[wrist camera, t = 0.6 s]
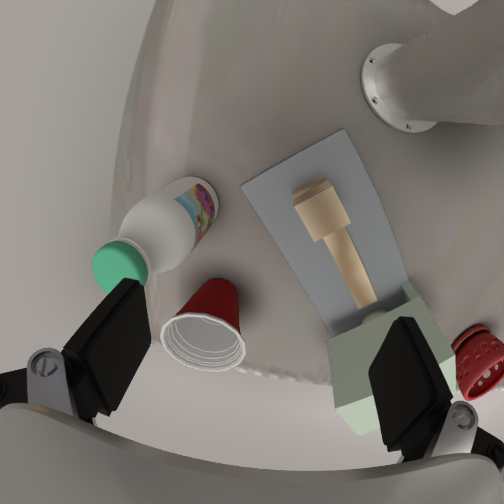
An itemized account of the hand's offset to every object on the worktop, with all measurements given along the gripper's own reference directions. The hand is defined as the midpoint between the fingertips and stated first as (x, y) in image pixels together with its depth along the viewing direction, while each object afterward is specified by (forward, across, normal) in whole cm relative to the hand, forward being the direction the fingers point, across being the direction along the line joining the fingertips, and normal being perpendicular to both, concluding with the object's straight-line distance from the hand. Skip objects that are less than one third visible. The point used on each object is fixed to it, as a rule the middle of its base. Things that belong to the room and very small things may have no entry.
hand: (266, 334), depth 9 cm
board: (+27, -12, +10) cm, 32 cm away
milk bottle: (+28, +11, +4) cm, 30 cm away
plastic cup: (+28, +6, +18) cm, 34 cm away
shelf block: (+27, -19, +19) cm, 38 cm away
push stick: (+26, -10, +7) cm, 29 cm away
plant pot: (+27, -47, +24) cm, 60 cm away
